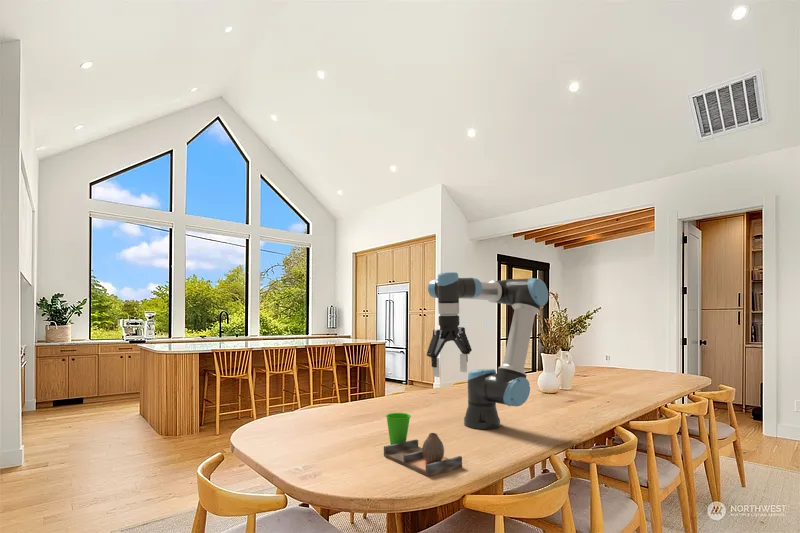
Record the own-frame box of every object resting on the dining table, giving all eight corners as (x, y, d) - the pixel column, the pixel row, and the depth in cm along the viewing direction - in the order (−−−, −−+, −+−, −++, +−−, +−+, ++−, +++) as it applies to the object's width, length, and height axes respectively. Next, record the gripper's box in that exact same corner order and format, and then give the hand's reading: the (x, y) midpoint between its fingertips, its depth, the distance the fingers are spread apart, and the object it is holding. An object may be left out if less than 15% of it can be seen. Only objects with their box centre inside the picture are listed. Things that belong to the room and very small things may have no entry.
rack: (416, 448, 167) (416, 439, 167) (462, 467, 149) (462, 456, 149) (383, 456, 159) (383, 446, 159) (427, 476, 140) (427, 465, 141)
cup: (396, 441, 175) (396, 411, 176) (415, 446, 170) (415, 415, 171) (380, 447, 168) (380, 415, 169) (399, 452, 163) (400, 419, 164)
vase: (418, 460, 152) (418, 431, 152) (438, 457, 154) (438, 430, 155) (427, 467, 145) (427, 437, 146) (447, 464, 148) (447, 435, 148)
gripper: (465, 313, 182) (467, 368, 181) (415, 316, 167) (417, 377, 166) (480, 313, 176) (481, 371, 175) (429, 317, 161) (431, 380, 160)
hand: (450, 374), depth 171 cm, fingers open, 13 cm apart
